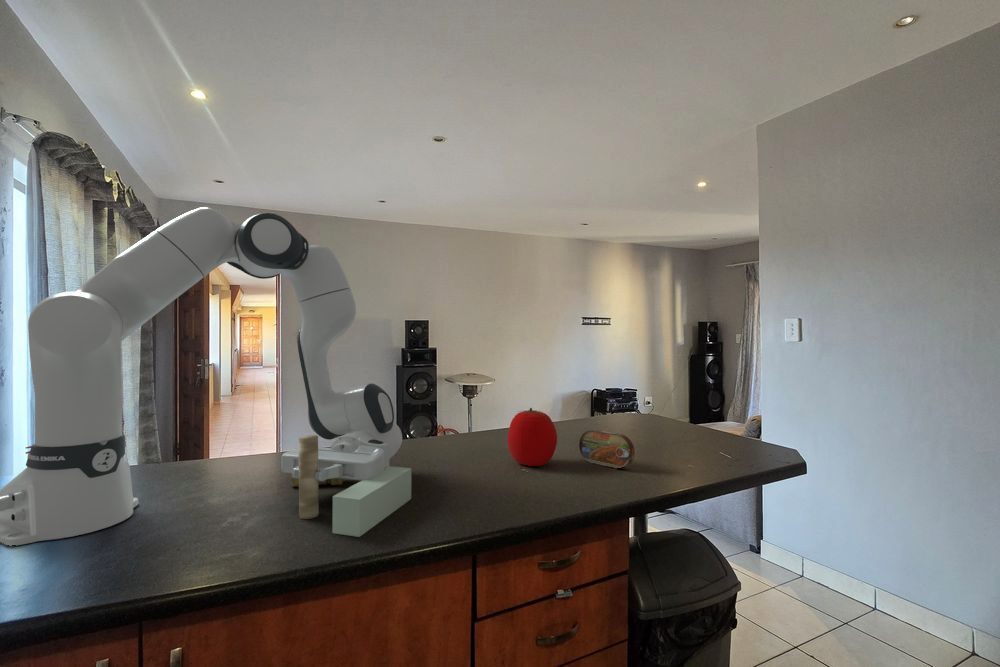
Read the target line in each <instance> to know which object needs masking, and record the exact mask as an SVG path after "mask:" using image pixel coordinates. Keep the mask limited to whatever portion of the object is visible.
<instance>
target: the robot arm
mask: <svg viewBox="0 0 1000 667" xmlns="http://www.w3.org/2000/svg"><path fill="white" fill-rule="evenodd" d="M226 263H227V264H228V265H229V266H231V267H233V268H235V269H237V270H239V271H241V272H242V273H245V274H247V275H248V276H250V277H253V278H256V279H264V280H265V279H273V278H275V277H278V276H279V275H281V276H283V277H284V278H285V279H286V280H288V281H289V283H290V284H291V286H292V287H293V289H294V291H295V295H296V299H297V300H298V301H297V302H298V303H299V308H300V312H301V328H300V330H299V331H298V333H297V340H296V342H297V350H298V357H299V363H300V367H301V368H300V369H301V372H302V378H303V383H304V387H305V393H306V398H307V415H308V416H307V417H308V418H307V419H308V423H309V427H310V428H311V429H312V430H313V432H314V433H315V434H317V436H318V437H321V438H323V439H324V440H330V441H331V440H333V439H335V440H333V441H332V443H331V444H330V447H321V446H318V470H316V471H315V474H314V475H315V477H314V479H315V480H316V481H324V480H326V479H331V478H342V479H343V480H354V481H362V480H364V479H365V480H369V479H374V478H376V477H377V476H379V475H380V474H381V473H383V472H384V470H385V468H386V467H388V466H390V460H391V458H392V457H394V456H395V455H396V454H397V452H398V451H399V449H400V448H401V445H402V442H403V434H402V431H401V430H402V429H401V428H400V427H399V425H397V424H396V422H394V421H395V413H394V412H395V411H394V405H393V403H392V399H391V397H390V396H389V394H388V393H387V392H386V391H385V390H384V389H383V388H382V387H380V386H379V385H377V384H374V383H368V384H363V385H359V386H355V387H352V388H349V389H346V390H342V391H338V392H335V391H334V389H333V388H332V382H331V378H330V371H329V367H328V361H327V356H328V351H329V350H330V348H331V346H332V345H333V344H334V343H335V341H337V340H338V339H340V337H342V335H344V334H345V333H346V332H347V331H348V330H349V328H350V327H351V326H352V324H353V323H354V320H355V317H356V314H357V308H356V302H355V299H354V296H353V293H352V290H351V286H350V285H349V281H348V279H347V276H346V274H345V272H344V270H343V267H342V265H341V264H340V262H339V259H338V258H337V257H336V255H335V253H334V252H333V251H332V249H330V248H329V247H327V246H325V245H319V244H311V245H309V241H308V240H307V239H306V238H305V237H304V236H303V235H302V234H301V233H300V232H299V231H298V230H297V229H296V228H295V227H294V226H293V224H292V223H291V222H290V221H288V220H287V219H286V218H285V217H283V216H281V215H279V214H277V213H271V212H261V213H257V214H255V215H251V216H250V217H248V218H247V219H246V220H244V222H242V224H238V223H235V222H234V221H231V219H229V218H228V217H227V216H226V215H225V214H224V213H223V212H221V211H219V210H217V209H214V208H212V207H206V206H202V207H197V208H196V209H192V210H190V211H188V212H185V213H183V214H181V215H179V216H177V217H176V218H173V219H171V220H169V221H168V222H166V223H164V224H163V225H161V226H160V227H158V228H157V229H155V230H154V231H152V232H150V233H149V234H148V235H146V236H145V237H143V238H142V239H140V240H138V242H136V243H135V244H133V245H131V246H130V247H128V248H127V249H126V250H124V251H122V252H121V253H120V254H118V255H117V256H116V257H115V256H114V258H113V259H112V260H111V261H109V262H108V263H107V264H106V265H105V266H104V267H103V268H101V269H100V270H99V271H98V272H96V273H95V274H94V275H93V276H92V277H90V278H89V279H88V280H86V281H85V282H84V283H83V284H81V285H80V286H79V287H77V288H76V289H74V290H73V291H64V292H59V293H54V294H52V295H49V296H47V297H45V298H44V299H42V300H41V301H40V302H38V303H37V304H36V306H34V307H33V309H32V311H31V313H30V314H29V317H28V322H27V330H28V332H27V333H28V345H29V346H28V347H29V359H30V368H31V379H32V383H33V384H32V385H33V390H34V443H33V444H32V445H29V446H26V447H25V449H30V450H29V451H26V452H24V453H25V455H27V459H26V463H25V466H26V468H24V469H23V470H22V471H21V472H20V473H18V474H17V475H16V476H15V477H14V478H12V479H11V480H10V481H8V483H6V484H5V485H3V487H2V488H0V543H1V544H3V543H4V544H3V545H5V544H6V545H5V546H7V545H9V546H8V547H13V546H12V545H16V546H20V545H26V544H31V543H36V542H42V541H51V540H59V539H64V538H71V537H75V536H79V535H85V534H89V533H93V532H97V531H99V530H103V529H106V528H109V527H112V526H115V525H116V524H119V523H121V522H124V521H125V520H127V519H128V518H130V517H132V516H133V514H134V508H136V507H137V506H138V505H139V498H138V497H134V494H133V485H132V476H131V474H132V473H131V466H130V463H129V462H128V461H127V460H125V459H124V456H125V455H126V447H127V442H126V436H125V434H123V381H122V377H123V376H122V341H124V340H125V339H126V338H128V337H129V336H130V335H132V334H133V333H134V332H135V331H136V330H138V329H139V328H140V327H142V326H143V325H144V324H146V323H147V322H148V321H149V320H150V319H152V318H153V317H155V316H156V315H157V314H158V313H160V312H161V311H162V310H163V309H165V308H166V307H167V306H168V305H170V304H171V303H172V302H174V301H175V300H176V299H177V298H179V297H180V296H181V295H183V294H184V293H185V292H187V291H188V290H189V289H191V288H192V287H194V285H196V284H198V283H199V281H201V280H202V279H203V278H205V277H206V276H208V275H209V274H210V273H211V272H213V271H214V270H215V269H216V268H217V267H220V266H222V265H223V264H226ZM280 460H281V462H280V463H281V464H280V466H281V471H282V472H283V473H286V474H291V473H292V477H293V478H299V448H296V449H292V450H289V451H285V452H284V453H282V455H281V459H280Z"/></svg>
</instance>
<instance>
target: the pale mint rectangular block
mask: <svg viewBox="0 0 1000 667" xmlns="http://www.w3.org/2000/svg"><path fill="white" fill-rule="evenodd" d="M410 500H412V468H410V467H402V466H401V467H400V466H390V465H389V466H388V467H386V468H385V470H384V472H383V473H381V474H380V475H379V476H377V477H376V478H374V479H369V480H365V479H364V480H362V481H361V480H359V482H357V483H355V484H353V485H350V486H349V487H348V488H346V489H344V490H342V491H339V492H338V493H336V494H335V495H333V496H332V529H331V530H332V534H336V535H344V536H351V537H357V538H360V537H361V536H363V535H364V534H366V533H367V532H368V531H369V530H372V528H373V527H375V526H376V525H378V524H379V523H380V522H383V520H385V519H386V518H387V517H389V516H390V515H391V514H393V513H394V512H396V511H397V510H398V509H400V508H401V507H402V506H404V505H405V504H407V503H408V502H409V501H410Z"/></svg>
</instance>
